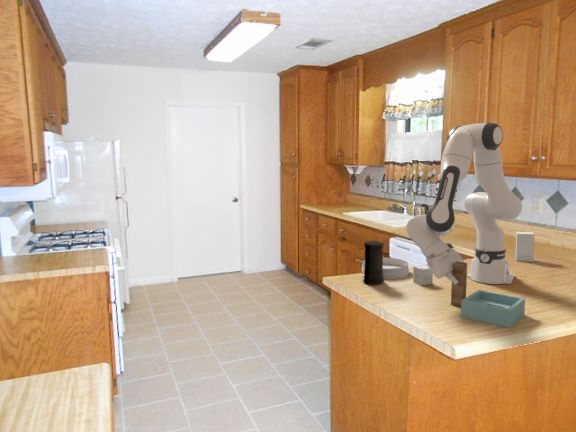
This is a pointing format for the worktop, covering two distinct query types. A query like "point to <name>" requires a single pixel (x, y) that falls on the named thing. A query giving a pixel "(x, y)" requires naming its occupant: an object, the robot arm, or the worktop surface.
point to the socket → (493, 308)
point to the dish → (392, 268)
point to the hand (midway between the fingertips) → (460, 281)
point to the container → (373, 263)
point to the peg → (460, 288)
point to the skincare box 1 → (422, 275)
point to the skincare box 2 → (525, 246)
